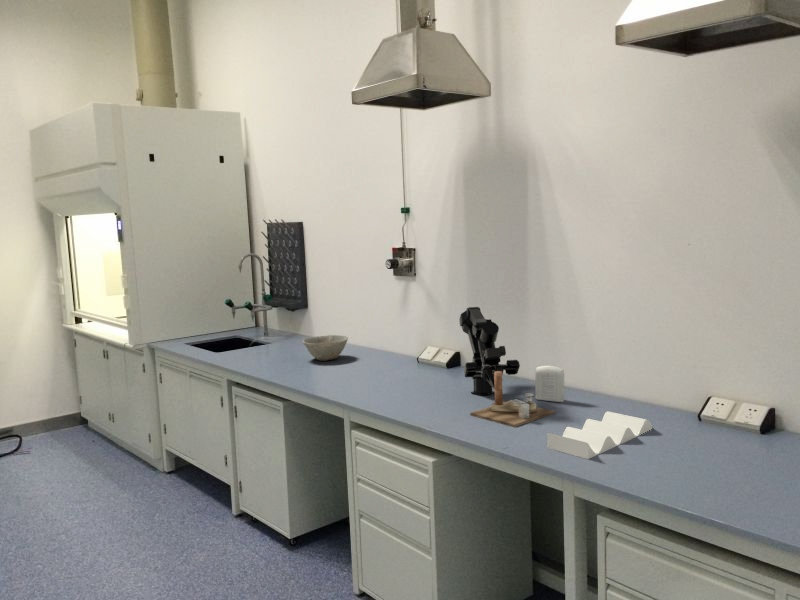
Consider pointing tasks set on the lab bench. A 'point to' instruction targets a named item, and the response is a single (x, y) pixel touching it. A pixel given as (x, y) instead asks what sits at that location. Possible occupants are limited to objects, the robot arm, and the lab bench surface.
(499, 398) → the ash crank
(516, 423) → the walnut board
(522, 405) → the pintle and keeper
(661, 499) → the lab bench surface
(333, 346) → the ceramic bowl
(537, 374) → the white arched upright block
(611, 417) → the white wavy rack
